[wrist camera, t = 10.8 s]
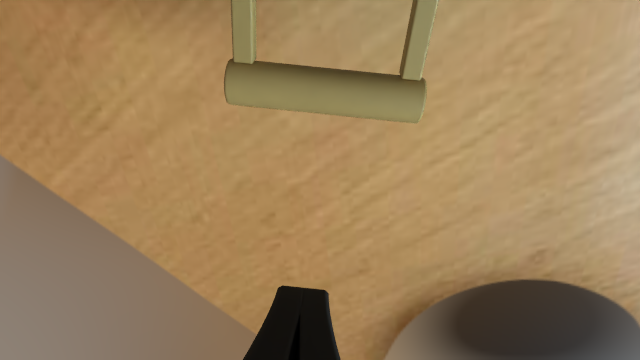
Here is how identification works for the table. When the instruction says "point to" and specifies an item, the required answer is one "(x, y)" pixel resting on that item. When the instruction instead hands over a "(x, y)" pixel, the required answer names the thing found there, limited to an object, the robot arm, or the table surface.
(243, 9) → the drawer
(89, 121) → the table surface
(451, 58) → the table surface
